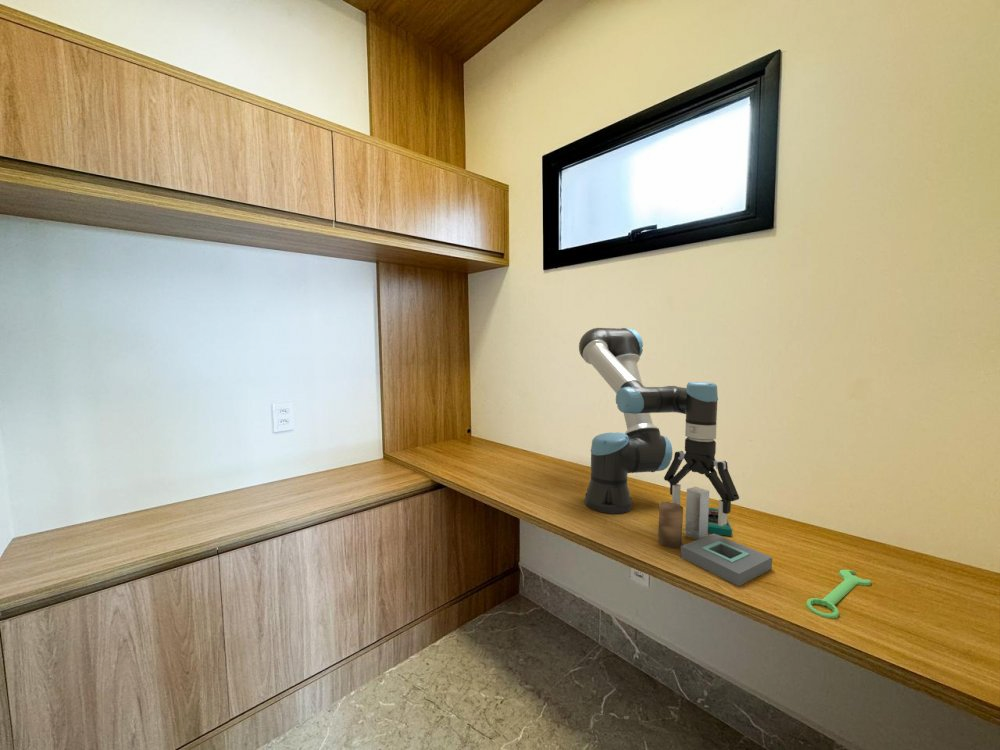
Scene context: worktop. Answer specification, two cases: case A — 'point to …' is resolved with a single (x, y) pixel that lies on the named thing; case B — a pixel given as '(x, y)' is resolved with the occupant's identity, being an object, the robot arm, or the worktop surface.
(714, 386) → the robot arm
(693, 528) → the square bit
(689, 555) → the socket plate
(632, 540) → the worktop surface
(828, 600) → the wrench
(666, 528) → the round dowel
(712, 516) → the digital multimeter
